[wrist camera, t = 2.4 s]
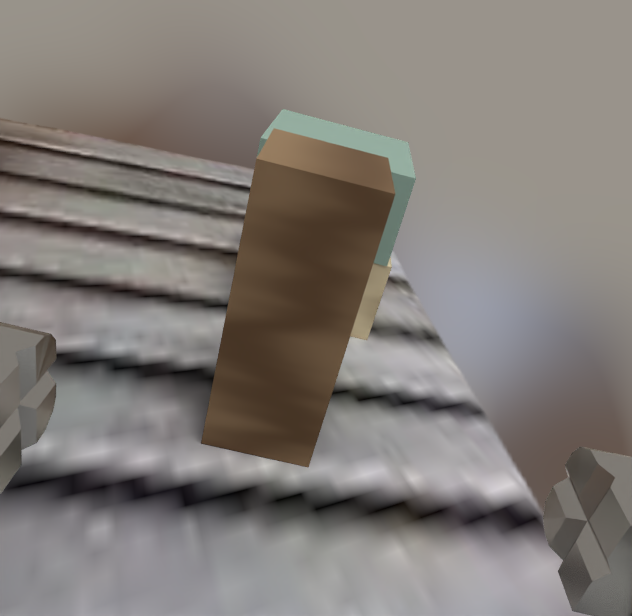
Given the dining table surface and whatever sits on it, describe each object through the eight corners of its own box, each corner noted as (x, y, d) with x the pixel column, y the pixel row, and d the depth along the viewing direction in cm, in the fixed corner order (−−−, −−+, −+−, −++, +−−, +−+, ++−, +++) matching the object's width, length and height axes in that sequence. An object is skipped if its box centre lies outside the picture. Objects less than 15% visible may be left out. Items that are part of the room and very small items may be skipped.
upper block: (243, 229, 32) (260, 137, 29) (267, 185, 39) (282, 109, 36) (386, 266, 32) (415, 178, 30) (384, 216, 39) (408, 142, 37)
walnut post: (201, 443, 24) (256, 158, 18) (222, 379, 28) (273, 128, 22) (308, 467, 24) (395, 194, 19) (314, 400, 28) (388, 158, 23)
